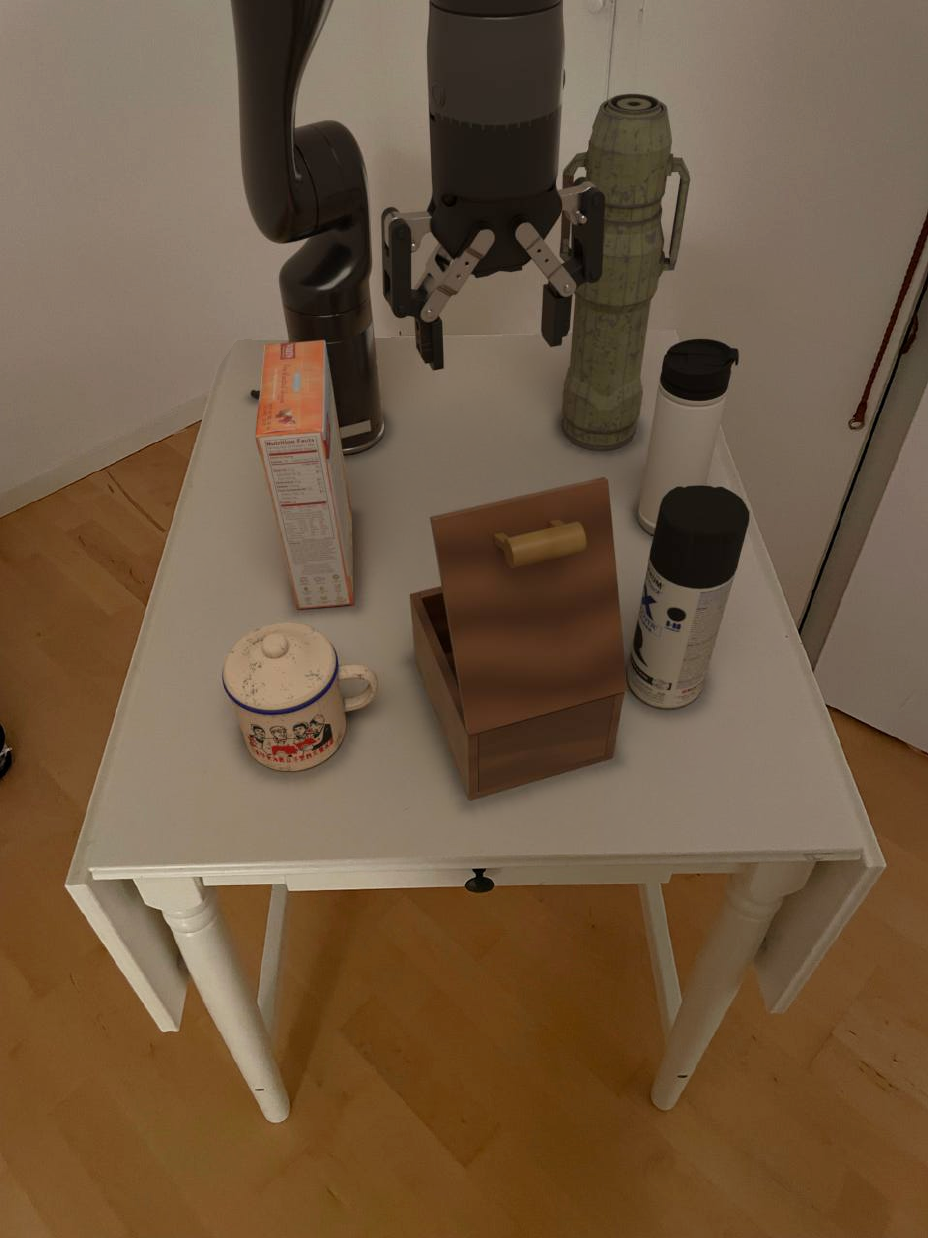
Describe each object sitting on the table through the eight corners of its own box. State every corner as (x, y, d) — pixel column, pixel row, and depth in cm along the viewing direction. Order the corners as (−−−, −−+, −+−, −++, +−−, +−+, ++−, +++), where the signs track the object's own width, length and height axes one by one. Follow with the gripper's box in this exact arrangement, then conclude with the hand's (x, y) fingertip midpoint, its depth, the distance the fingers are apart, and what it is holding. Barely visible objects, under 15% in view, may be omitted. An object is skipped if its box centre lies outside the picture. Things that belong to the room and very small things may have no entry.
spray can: (623, 652, 84) (652, 479, 69) (697, 653, 84) (743, 480, 69) (629, 710, 79) (663, 539, 65) (708, 711, 79) (759, 539, 64)
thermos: (547, 405, 111) (566, 85, 85) (646, 407, 110) (695, 85, 84) (547, 449, 105) (567, 119, 79) (651, 452, 104) (705, 120, 78)
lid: (429, 516, 61) (450, 537, 56) (603, 476, 63) (638, 492, 58) (466, 730, 67) (488, 765, 62) (623, 686, 70) (655, 717, 65)
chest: (415, 661, 84) (409, 593, 77) (543, 627, 86) (548, 559, 80) (469, 801, 73) (467, 737, 67) (612, 758, 76) (624, 692, 70)
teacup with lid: (242, 783, 75) (211, 695, 66) (243, 696, 81) (215, 605, 73) (388, 763, 76) (376, 674, 68) (378, 679, 82) (366, 587, 74)
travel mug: (699, 544, 94) (740, 372, 79) (634, 536, 95) (662, 365, 80) (701, 505, 98) (740, 335, 83) (639, 497, 99) (666, 328, 84)
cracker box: (297, 517, 97) (261, 340, 82) (353, 513, 98) (329, 336, 82) (292, 612, 88) (251, 432, 73) (354, 608, 88) (327, 427, 73)
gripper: (585, 58, 55) (567, 309, 67) (355, 88, 52) (379, 344, 64) (640, 98, 50) (610, 361, 62) (389, 133, 47) (408, 402, 59)
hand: (493, 352), depth 63 cm, fingers open, 8 cm apart
